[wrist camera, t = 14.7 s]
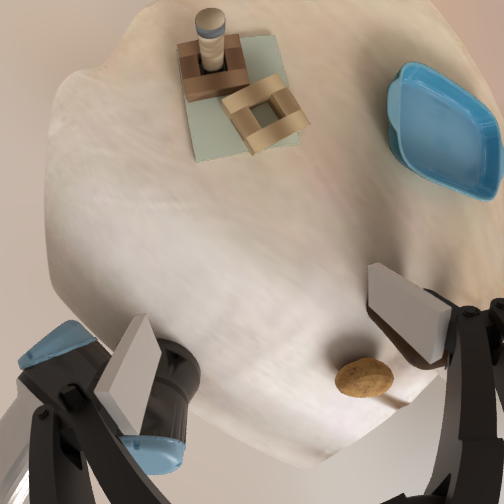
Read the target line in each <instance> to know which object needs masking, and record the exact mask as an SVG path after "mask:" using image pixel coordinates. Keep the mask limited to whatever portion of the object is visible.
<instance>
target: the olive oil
mask: <svg viewBox="0 0 504 504" xmlns="http://www.w3.org/2000/svg"><path fill="white" fill-rule="evenodd" d="M367 312H368V315H369V317H370V318H371V319H372V320H373V321H374V322H375V324H376V325H377V326H378V327H379V328H380V329H381V330H382V331H383V332H384V334H385V335H386V336H387V337H388V338H389V339H390V341H391V342H392V343H393V344H394V345H395V346H396V348H397V349H398V350H399V351H400V353H401V354H402V355H403V356H404V358H405V359H406V360H407V361H408V362H409V363H410V364H411V365H413V366H415V367H417V368H419V369H423V370H431V369H436V368H440V367H445V365H446V361H447V358H448V354H449V351H448V350H447V349H446V348H444V351H443V355H442V358H441V359H439V360H437V361H436V362H434V363H432V364H429V363H428V362H427V361H426V360H425V359H424V358H423V357H422V356H421V355H420V354H419V353H418V352H417V351H416V350H415V349H414V348H413V347H412V346H411V345H410V344H409V343H408V342H407V341H406V340H405V339H404V338H403V337H401V336H400V335H399V334H398V333H397V332H396V331H395V330H394V329H393V328H392V327H391V326H390V325H389V324H388V323H387V322H386V321H384V320H383V319H382V318H381V317H380V316H379V315H378V314H377V313H376V312H375V311H374V310H373V309H372V308H370V307H369V298H368V301H367Z"/></svg>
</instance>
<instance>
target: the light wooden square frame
mask: <svg viewBox="0 0 504 504" xmlns="http://www.w3.org/2000/svg"><path fill="white" fill-rule="evenodd" d="M265 102H268V103H269V105H270V107H271V108H272V110H273V111H274V113H275V114H276V116H277V118H278V119H279V120H278V121H276V122H274V123H272V124H270V125H268V126H266V127H264V128H263V129H262V128H261V126H260V125H259V123H258V121H257V120H256V118H255V117H254V115H253V114H252V112H251V109H253V108H255V107H257V106H259V105H261V104H263V103H265ZM221 106H222V109H223V110H224V112H225V113H226V115H227V116H228V118H229V119H230V121H231V123H232V124H233V126H234V127H235V129H236V130H237V132H238V134H239V135H240V137H241V138H242V140H243V142H244V143H245V145H246V147H247V148H248V150H249V151H250V153H251V155H252V156H253V155H255V154H257V153H259V152H260V151H262V150H264V149H266V148H268V147H269V146H271V145H273V144H275V143H277V142H279V141H281V140H282V139H284V138H286V137H288V136H290V135H292V134H294V133H296V132H298V131H300V130H302V129H303V128H305V127H307V126H308V125H310V122H309V121H308V119H307V117H306V116H305V114H304V113H303V111H302V109H301V108H300V106H299V104H298V103H297V101H296V100H295V98H294V97H293V95H292V94H291V92H290V90H289V89H288V87H287V86H286V84H285V83H284V81H283V80H282V79H281V77H280V76H279V74H278V73H276V74H273V75H271V76H269V77H267V78H264V79H262V80H260V81H258V82H256V83H254V84H251V85H249V86H247V87H245V88H243V89H241V90H239V91H237V92H235V93H233V94H231V95H229V96H227V97H226V98H224V99H222V100H221Z"/></svg>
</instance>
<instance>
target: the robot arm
mask: <svg viewBox="0 0 504 504" xmlns="http://www.w3.org/2000/svg"><path fill="white" fill-rule="evenodd" d="M368 296H369V307H370V308H372V309H373V310H374V311H375V312H376V313H377V314H378V315H379V316H380V317H381V318H382V319H383V320H384V321H386V322H387V323H388V324H389V325H390V326H391V327H392V328H393V329H394V330H395V331H396V332H397V333H398V334H399V335H400V336H401V337H403V338H404V339H405V340H406V341H407V342H408V343H409V344H410V345H411V346H412V347H413V348H414V349H415V350H416V351H417V352H418V353H419V354H420V355H421V356H422V357H423V358H424V359H425V360H426V361H427V362H428V363H429V364H432V363H434V362H436V361H437V360H439V359H441V358H442V355H443V351H444V348H446V349H447V350H448V351H449V354H448V358H447V361H446V365H445V369H444V370H446V369H447V383H446V398H445V407H444V415H443V423H442V429H441V436H440V441H439V447H438V452H437V456H436V461H435V465H434V469H433V473H432V477H431V479H430V482H429V484H428V486H427V488H426V490H425V492H424V495H418V496H412V497H407V498H406V496H405V494H404V493H402V494H400V495H398V496H396V497H394V498H392V499H390V500H388V501H386V502H383V503H381V504H498V502H499V497H500V491H501V484H502V476H503V464H504V440H503V439H502V438H498V437H497V412H496V396H495V395H496V394H495V388H496V391H497V393H498V396H499V399H500V402H501V405H502V408H503V411H504V343H503V340H504V298H496V299H493V300H492V301H491V304H490V309H489V310H485V311H480V310H479V309H478V308H477V307H474V306H463V307H458V306H456V305H455V304H453V303H452V302H450V301H449V300H447V299H444V297H442V296H439V294H437V293H436V292H434V291H432V290H429V289H425V288H424V289H422V288H420V287H419V286H417V285H415V284H414V283H412V282H410V281H409V280H407V279H406V278H404V277H402V276H401V275H399V274H397V273H396V272H394V271H392V270H390V269H389V268H387V267H385V266H384V265H382V264H380V263H374V264H370V265H368ZM97 340H98V339H97V338H96V337H93V336H92V335H91V334H90V333H89V332H88V331H87V330H86V329H85V328H84V327H83V326H82V325H81V324H80V323H79V322H77V321H74V320H68V321H66V322H64V323H63V324H61V325H60V326H58V327H57V328H56V329H54V330H53V331H52V332H50V333H49V334H48V335H47V336H45V337H44V338H43V339H42V340H41V341H39V342H38V343H37V344H36V345H34V346H33V347H32V348H31V349H30V350H29V351H28V352H26V353H25V354H24V355H23V356H22V357H21V358H20V359H19V360H18V364H19V367H20V369H21V370H22V369H23V372H22V373H21V374H20V376H19V377H18V378H17V379H16V382H17V391H18V396H17V398H16V399H15V401H14V402H13V403H12V405H11V406H10V407H9V409H8V410H7V412H6V413H5V414H4V416H3V417H2V418H1V420H0V504H28V503H29V502H30V504H96V503H95V499H94V495H93V491H92V486H91V482H90V477H89V472H88V466H87V461H88V463H89V465H90V467H91V469H92V471H93V473H94V475H95V477H96V478H97V480H98V482H99V484H100V486H101V488H102V489H103V491H104V493H105V494H106V496H107V498H108V499H109V501H110V503H111V504H171V503H170V502H169V501H168V500H167V499H166V498H165V496H164V495H163V494H162V493H161V492H160V491H159V490H158V488H157V487H156V486H155V485H154V484H153V483H152V481H151V480H150V479H149V478H148V477H147V475H162V474H167V473H171V472H173V471H175V470H177V469H178V468H179V467H180V465H181V464H182V460H183V455H184V451H185V442H186V425H187V412H188V404H189V402H190V401H191V399H192V398H193V396H194V394H195V393H196V391H197V390H198V387H199V384H200V367H199V364H198V362H197V360H196V359H195V357H194V356H193V355H192V354H191V353H190V352H189V351H188V350H187V349H185V348H184V347H182V346H181V345H179V344H177V343H174V342H172V341H168V340H164V339H156V338H155V335H154V333H153V330H152V327H151V325H150V322H149V320H148V317H147V314H141V315H135V316H134V318H133V319H132V321H131V323H130V324H129V326H128V328H127V330H126V332H125V333H124V335H123V337H122V339H121V340H120V342H119V344H118V346H117V348H116V350H115V351H114V353H113V355H110V354H109V352H108V351H107V350H106V349H105V348H104V347H103V346H102V345H101V344H100V343H99V342H98V341H97ZM86 459H87V461H86Z"/></svg>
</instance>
